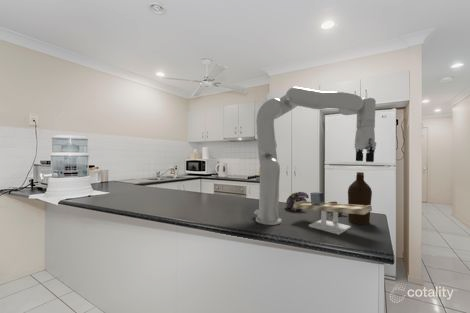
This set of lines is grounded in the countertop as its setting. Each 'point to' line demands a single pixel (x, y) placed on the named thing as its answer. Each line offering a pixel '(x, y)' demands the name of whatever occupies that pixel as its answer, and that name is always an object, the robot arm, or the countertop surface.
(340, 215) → the pottery mug
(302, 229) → the countertop surface
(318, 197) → the iron weight
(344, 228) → the trestle
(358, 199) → the olive oil
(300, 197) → the decorative flower
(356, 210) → the beam
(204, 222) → the countertop surface
